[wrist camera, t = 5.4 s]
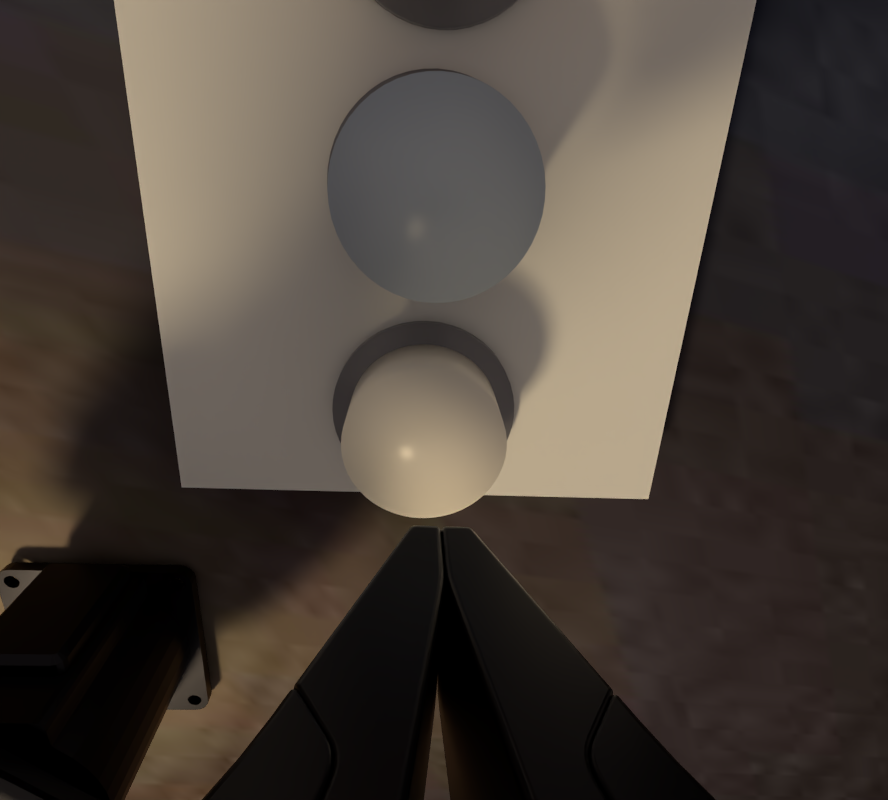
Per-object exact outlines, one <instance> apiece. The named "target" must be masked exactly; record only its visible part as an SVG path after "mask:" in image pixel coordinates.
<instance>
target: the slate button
mask: <svg viewBox="0 0 888 800" xmlns="http://www.w3.org/2000/svg"><path fill="white" fill-rule="evenodd" d="M545 188H546V185H545V171H544V166H543V161H542V156H541V153H540V150H539V147H538V144H537V141H536V139H535V137H534V135H533V133H532V131H531V128H530V127H529V125H528V124H527V122H526V121H525V119H524V117H523V116H522V114H521V113H520V112H519V111H518V110H517V109H516V108H515V106H514V105H513V104H512V103H511V102H510V101H509V100H508V99H507V98H505V97H504V96H503V95H502V94H501V93H500V92H498V91H497V90H495V89H494V88H492V87H491V86H489V85H487V84H486V83H483V82H481V81H479V80H477V79H475V78H473V77H469V76H466V75H463V74H459V73H453V72H446V71H425V72H419V73H413V74H409V75H406V76H403V77H400V78H397V79H395V80H393V81H391V82H389V83H387V84H385V85H383V86H382V87H380V88H379V89H377V90H376V91H374V92H373V93H371V94H370V95H369V96H368V97H367V98H366V99H365V100H364V101H363V102H361V103H360V104H359V105H358V107H357V108H356V109H355V110H354V112H353V113H352V114H351V115H350V116H349V118H348V120H347V121H346V123H345V124H344V126H343V128H342V129H341V131H340V134H339V136H338V138H337V140H336V143H335V145H334V149H333V152H332V155H331V159H330V164H329V170H328V184H327V192H328V204H329V209H330V214H331V219H332V222H333V225H334V228H335V231H336V233H337V236H338V238H339V240H340V242H341V244H342V246H343V248H344V249H345V251H346V252H347V254H348V255H349V257H350V258H351V260H352V261H353V262H354V263H355V264H356V266H357V267H358V268H359V269H360V270H361V271H362V272H363V273H364V274H365V275H366V276H367V277H368V278H369V279H371V280H372V281H373V282H375V283H376V284H378V285H379V286H380V287H382V288H384V289H386V290H388V291H389V292H391V293H393V294H396V295H398V296H401V297H403V298H406V299H410V300H414V301H418V302H427V303H448V302H454V301H460V300H463V299H467V298H470V297H473V296H475V295H478V294H480V293H482V292H484V291H486V290H488V289H490V288H491V287H493V286H495V285H496V284H497V283H499V282H500V281H501V280H503V279H504V278H505V277H506V276H507V275H508V274H509V273H510V272H511V271H512V270H513V269H514V268H515V267H516V266H517V265H518V264H519V262H520V261H521V260H522V259H523V257H524V256H525V254H526V253H527V251H528V249H529V248H530V246H531V244H532V242H533V240H534V238H535V236H536V233H537V231H538V228H539V225H540V222H541V218H542V215H543V209H544V203H545Z"/></svg>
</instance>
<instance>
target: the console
mask: <svg viewBox="0 0 888 800" xmlns="http://www.w3.org/2000/svg"><path fill="white" fill-rule="evenodd" d="M114 4H115V12H116V19H117V26H118V33H119V40H120V48H121V55H122V62H123V69H124V76H125V84H126V91H127V98H128V105H129V112H130V120H131V127H132V134H133V141H134V148H135V156H136V163H137V170H138V177H139V184H140V192H141V199H142V206H143V213H144V220H145V228H146V235H147V242H148V249H149V256H150V263H151V271H152V278H153V285H154V292H155V299H156V307H157V314H158V321H159V328H160V335H161V343H162V350H163V357H164V364H165V371H166V379H167V386H168V393H169V400H170V407H171V415H172V422H173V429H174V436H175V443H176V451H177V458H178V465H179V472H180V479H181V487H184V488H224V489H264V490H304V491H344V492H360V491H359V490H358V489H357V487H356V486H355V485H354V483H353V482H352V480H351V479H350V477H349V475H348V473H347V471H346V468H345V466H344V462H343V458H342V452H341V435H342V430H343V426H344V422H345V419H346V416H347V412H348V409H349V405H350V402H351V399H352V395H353V392H354V390H355V387H356V385H357V383H358V381H359V379H360V378H361V376H362V375H363V373H364V372H365V371H366V370H367V369H368V368H369V366H370V365H371V364H372V363H374V362H375V361H376V360H378V359H379V358H380V357H382V356H383V355H385V354H387V353H389V352H391V351H393V350H396V349H398V348H402V347H405V346H411V345H420V344H429V345H438V346H442V347H446V348H449V349H452V350H454V351H457V352H459V353H460V354H462V355H464V356H466V357H467V358H469V359H470V360H471V361H473V362H474V363H475V364H476V365H477V366H478V367H479V368H480V369H481V370H482V372H483V373H484V374H485V376H486V377H487V379H488V381H489V382H490V384H491V387H492V389H493V392H494V395H495V398H496V401H497V404H498V407H499V410H500V413H501V416H502V419H503V422H504V426H505V430H506V437H507V451H506V456H505V461H504V464H503V467H502V470H501V472H500V474H499V476H498V478H497V479H496V481H495V482H494V484H493V485H492V486H491V488H490V489H489V490H488V491H487V492H486V493H485V494H484V495H505V496H545V497H586V498H626V499H648V498H649V493H650V489H651V484H652V479H653V475H654V470H655V466H656V461H657V456H658V452H659V447H660V442H661V438H662V433H663V429H664V424H665V419H666V415H667V410H668V406H669V401H670V396H671V392H672V387H673V383H674V378H675V373H676V369H677V364H678V360H679V355H680V350H681V346H682V341H683V337H684V332H685V327H686V323H687V318H688V313H689V309H690V304H691V300H692V295H693V290H694V286H695V281H696V277H697V272H698V267H699V263H700V258H701V254H702V249H703V244H704V240H705V235H706V231H707V226H708V221H709V217H710V212H711V207H712V203H713V198H714V194H715V189H716V184H717V180H718V175H719V171H720V166H721V161H722V157H723V152H724V148H725V143H726V138H727V134H728V129H729V125H730V120H731V115H732V111H733V106H734V101H735V97H736V92H737V88H738V83H739V78H740V74H741V69H742V65H743V60H744V55H745V51H746V46H747V42H748V37H749V32H750V28H751V23H752V19H753V14H754V9H755V5H756V0H114ZM425 71H446V72H453V73H459V74H463V75H466V76H469V77H473V78H475V79H477V80H479V81H481V82H483V83H486V84H487V85H489V86H491V87H492V88H494V89H495V90H497V91H498V92H500V93H501V94H502V95H503V96H504V97H505V98H507V99H508V100H509V101H510V102H511V103H512V104H513V105H514V106H515V108H516V109H517V110H518V111H519V112H520V113H521V114H522V116H523V117H524V119H525V121H526V122H527V124H528V125H529V127H530V128H531V131H532V133H533V135H534V137H535V139H536V141H537V144H538V147H539V150H540V153H541V156H542V161H543V166H544V171H545V185H546V188H545V203H544V209H543V215H542V218H541V222H540V225H539V228H538V231H537V233H536V236H535V238H534V240H533V242H532V244H531V246H530V248H529V249H528V251H527V253H526V254H525V256H524V257H523V259H522V260H521V261H520V262H519V264H518V265H517V266H516V267H515V268H514V269H513V270H512V271H511V272H510V273H509V274H508V275H507V276H506V277H505V278H504V279H503V280H501V281H500V282H499V283H497V284H496V285H495V286H493V287H491V288H490V289H488V290H486V291H484V292H482V293H480V294H478V295H475V296H473V297H470V298H467V299H463V300H460V301H454V302H448V303H427V302H418V301H414V300H410V299H406V298H403V297H401V296H398V295H396V294H393V293H391V292H389V291H388V290H386V289H384V288H382V287H380V286H379V285H378V284H376V283H375V282H373V281H372V280H371V279H369V278H368V277H367V276H366V275H365V274H364V273H363V272H362V271H361V270H360V269H359V268H358V267H357V266H356V264H355V263H354V262H353V261H352V260H351V258H350V257H349V255H348V254H347V252H346V251H345V249H344V248H343V246H342V244H341V242H340V240H339V238H338V236H337V233H336V231H335V228H334V225H333V222H332V219H331V214H330V209H329V204H328V192H327V184H328V170H329V164H330V159H331V155H332V152H333V149H334V145H335V143H336V140H337V138H338V136H339V134H340V131H341V129H342V128H343V126H344V124H345V123H346V121H347V120H348V118H349V116H350V115H351V114H352V113H353V112H354V110H355V109H356V108H357V107H358V105H359V104H360V103H361V102H363V101H364V100H365V99H366V98H367V97H368V96H369V95H370V94H371V93H373V92H374V91H376V90H377V89H379V88H380V87H382V86H383V85H385V84H387V83H389V82H391V81H393V80H395V79H397V78H400V77H403V76H406V75H409V74H413V73H419V72H425Z"/></svg>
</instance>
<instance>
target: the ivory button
mask: <svg viewBox="0 0 888 800" xmlns="http://www.w3.org/2000/svg"><path fill="white" fill-rule="evenodd" d="M506 451H507V437H506V430H505V426H504V422H503V419H502V416H501V413H500V410H499V407H498V404H497V401H496V398H495V395H494V392H493V389H492V387H491V384H490V382H489V381H488V379H487V377H486V376H485V374H484V373H483V372H482V370H481V369H480V368H479V367H478V366H477V365H476V364H475V363H474V362H473V361H471V360H470V359H469V358H467V357H466V356H464V355H462V354H460V353H459V352H457V351H454V350H452V349H449V348H446V347H442V346H438V345H429V344H420V345H411V346H405V347H402V348H398V349H396V350H393V351H391V352H389V353H387V354H385V355H383V356H382V357H380V358H379V359H378V360H376V361H375V362H374V363H372V364H371V365H370V366H369V368H368V369H367V370H366V371H365V372H364V373H363V375H362V376H361V378H360V379H359V381H358V383H357V385H356V387H355V390H354V392H353V395H352V399H351V402H350V405H349V409H348V412H347V416H346V419H345V422H344V426H343V430H342V435H341V452H342V458H343V462H344V466H345V468H346V471H347V473H348V475H349V477H350V479H351V480H352V482H353V483H354V485H355V486H356V487H357V489H358V490H359V491H360V492H361V493H362V494H363V495H364V496H365V497H366V498H367V499H369V500H370V501H371V502H373V503H374V504H376V505H377V506H379V507H381V508H383V509H385V510H387V511H389V512H392V513H395V514H398V515H402V516H407V517H414V518H433V517H440V516H445V515H449V514H452V513H455V512H457V511H460V510H462V509H464V508H466V507H468V506H470V505H471V504H473V503H474V502H476V501H477V500H478V499H480V498H481V497H482V496H483V495H484V494H485V493H486V492H487V491H488V490H489V489H490V488H491V486H492V485H493V484H494V482H495V481H496V479H497V478H498V476H499V474H500V472H501V470H502V467H503V464H504V461H505V456H506Z"/></svg>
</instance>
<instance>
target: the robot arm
mask: <svg viewBox="0 0 888 800" xmlns="http://www.w3.org/2000/svg"><path fill="white" fill-rule="evenodd" d="M14 577H15V578H14ZM16 578H17V579H18V580H17V579H16ZM175 579H180V580H181V581H183V583H181V582H178V581H176V580H175ZM0 595H1V599H2V602H3V605H4V608H5V611H4V612H3V613H2V614H1V615H0V800H125V797H126V795H127V793H128V791H129V789H130V787H131V785H132V783H133V780H134V778H135V776H136V774H137V772H138V770H139V768H140V765H141V763H142V761H143V759H144V757H145V755H146V753H147V750H148V748H149V746H150V744H151V742H152V740H153V738H154V736H155V733H156V731H157V729H158V727H159V725H160V723H161V721H162V718H163V716H164V714H165V712H166V710H167V709H171V710H197V709H202V708H204V707H205V706H206V705H207V704H208V701H209V699H210V696H211V692H212V691H211V684H210V677H209V669H208V662H207V655H206V647H205V640H204V633H203V626H202V618H201V611H200V604H199V597H198V589H197V582H196V576H195V574H194V572H193V571H192V570H191V569H190V568H188V567H186V566H181V565H133V564H76V563H19V562H16V563H10V564H8V565H7V566H6V567H5V568H4V569H2V570H1V571H0ZM437 684H438V700H439V711H440V719H441V727H442V735H443V743H444V751H445V759H446V767H447V776H448V784H449V792H450V800H715V799H714V798H713V797H712V796H711V795H710V794H709V793H708V792H707V791H706V790H705V789H704V788H703V787H702V786H701V785H700V784H699V783H698V782H697V781H696V780H695V779H694V778H693V777H692V776H691V775H690V774H689V773H688V772H687V771H686V770H685V769H684V768H683V767H682V766H681V765H680V764H679V763H678V762H677V761H676V760H675V759H674V757H673V756H672V755H671V754H670V753H669V752H668V751H667V750H666V749H665V748H664V747H663V746H662V744H661V743H660V742H659V741H658V740H657V739H656V738H655V737H654V736H653V735H652V734H651V732H650V731H649V730H648V729H647V728H646V727H645V726H644V725H643V724H642V723H641V722H640V721H639V719H638V718H637V717H636V716H635V715H634V714H633V713H632V711H631V710H630V709H629V708H628V707H627V706H626V705H625V703H624V702H623V701H622V700H621V699H620V698H619V697H618V696H617V695H613V691H612V689H611V688H610V687H609V685H608V684H607V683H606V682H605V681H604V680H603V679H602V677H601V676H600V675H599V674H598V673H597V672H596V671H595V669H594V668H593V667H592V666H591V665H590V664H589V663H588V661H587V660H586V659H585V658H584V657H583V656H582V655H581V653H580V652H579V651H578V650H577V649H576V648H575V647H574V645H573V644H572V643H571V642H570V641H569V640H568V639H567V637H566V636H565V635H564V634H563V633H562V632H561V631H560V629H559V628H558V627H557V626H556V625H555V624H554V623H553V621H552V620H551V619H550V618H549V617H548V616H547V615H546V613H545V612H544V611H543V610H542V609H541V608H540V607H539V605H538V604H537V603H536V602H535V601H534V600H533V599H532V597H531V596H530V595H529V594H528V593H527V592H526V591H525V589H524V588H523V587H522V586H521V585H520V584H519V583H518V581H517V580H516V579H515V578H514V577H513V576H512V575H511V573H510V572H509V571H508V570H507V569H506V568H505V567H504V565H503V564H502V563H501V562H500V561H499V560H498V558H497V557H496V556H495V555H494V554H493V553H492V552H491V550H490V549H489V548H488V547H487V546H486V545H485V544H484V542H483V541H482V540H481V539H480V538H479V537H478V536H477V534H476V533H475V532H474V531H473V530H472V529H471V528H469V527H444V528H442V530H440V528H438V527H437V526H412V527H411V528H410V529H409V530H408V531H407V533H406V534H405V535H404V537H403V538H402V540H401V541H400V542H399V544H398V545H397V546H396V548H395V549H394V550H393V552H392V553H391V555H390V556H389V557H388V559H387V560H386V561H385V563H384V564H383V565H382V567H381V568H380V570H379V571H378V572H377V574H376V575H375V576H374V578H373V579H372V580H371V582H370V583H369V584H368V586H367V587H366V589H365V590H364V591H363V593H362V594H361V595H360V597H359V598H358V599H357V601H356V602H355V604H354V605H353V606H352V608H351V609H350V610H349V612H348V613H347V614H346V616H345V617H344V619H343V620H342V621H341V623H340V624H339V625H338V627H337V628H336V629H335V631H334V632H333V634H332V635H331V636H330V638H329V639H328V640H327V642H326V643H325V644H324V646H323V647H322V649H321V650H320V651H319V653H318V654H317V655H316V657H315V658H314V659H313V661H312V662H311V664H310V665H309V666H308V668H307V669H306V670H305V672H304V673H303V674H302V676H301V677H300V679H299V680H298V681H297V683H296V684H295V686H294V689H293V690H291V691H290V692H289V693H288V694H287V696H286V697H285V698H284V700H283V701H282V703H281V704H280V705H279V707H278V708H277V709H276V711H275V712H274V714H273V715H272V716H271V718H270V719H269V720H268V721H267V723H266V724H265V725H264V727H263V728H262V729H261V730H260V732H259V733H258V734H257V735H256V737H255V738H254V739H253V741H252V742H251V743H250V744H249V746H248V747H247V748H246V749H245V751H244V752H243V753H242V755H241V756H240V757H239V758H238V759H237V761H236V762H235V763H234V764H233V765H232V766H231V767H230V769H229V770H228V771H227V772H226V773H225V774H224V775H223V776H222V778H221V779H220V780H219V781H218V782H217V783H216V784H215V786H214V787H213V788H212V789H211V790H210V791H209V792H208V794H207V795H206V796H205V797H204V798H203V799H202V800H424V793H425V785H426V777H427V769H428V760H429V752H430V744H431V736H432V728H433V719H434V711H435V700H436V689H437Z"/></svg>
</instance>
